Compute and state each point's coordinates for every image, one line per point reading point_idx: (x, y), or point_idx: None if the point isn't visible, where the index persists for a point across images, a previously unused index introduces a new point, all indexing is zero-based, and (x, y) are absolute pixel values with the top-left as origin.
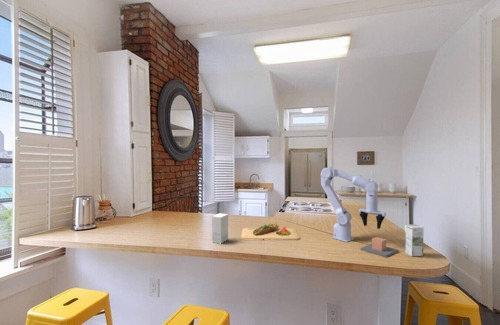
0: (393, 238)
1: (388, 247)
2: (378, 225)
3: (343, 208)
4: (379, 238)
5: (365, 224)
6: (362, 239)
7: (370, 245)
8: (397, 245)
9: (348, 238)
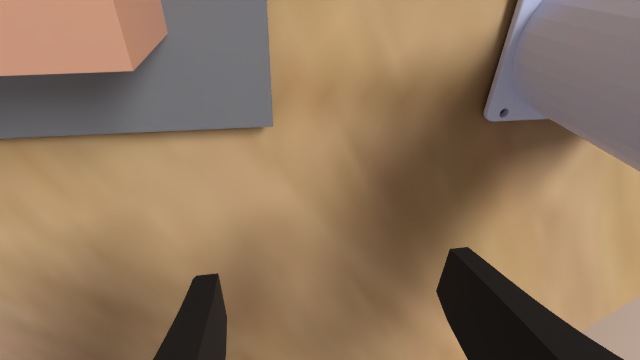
0: (271, 356)
1: (76, 121)
2: (169, 331)
3: None
4: (34, 31)
5: (458, 281)
6: (422, 185)
7: (239, 11)
8: (145, 270)
9: (543, 22)
